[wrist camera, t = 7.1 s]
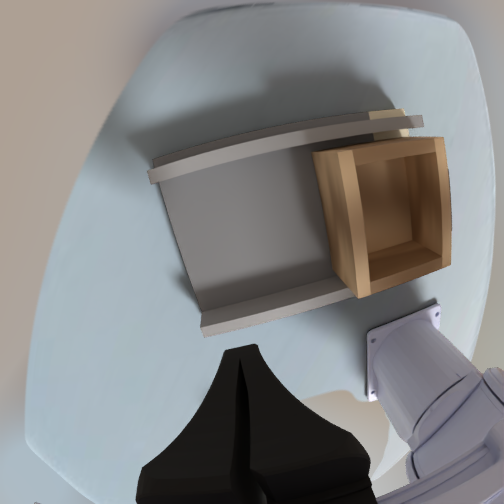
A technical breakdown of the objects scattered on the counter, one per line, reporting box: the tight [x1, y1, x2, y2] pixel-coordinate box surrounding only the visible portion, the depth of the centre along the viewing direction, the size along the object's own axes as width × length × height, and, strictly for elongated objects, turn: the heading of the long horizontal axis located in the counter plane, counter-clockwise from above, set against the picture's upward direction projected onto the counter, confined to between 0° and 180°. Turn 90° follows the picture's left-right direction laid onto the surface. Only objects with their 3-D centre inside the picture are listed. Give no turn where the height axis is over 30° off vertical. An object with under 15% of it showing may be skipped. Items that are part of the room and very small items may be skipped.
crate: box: [311, 137, 452, 299], centre depth 17 cm, size 8×8×4 cm
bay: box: [147, 109, 424, 338], centre depth 18 cm, size 12×17×3 cm
